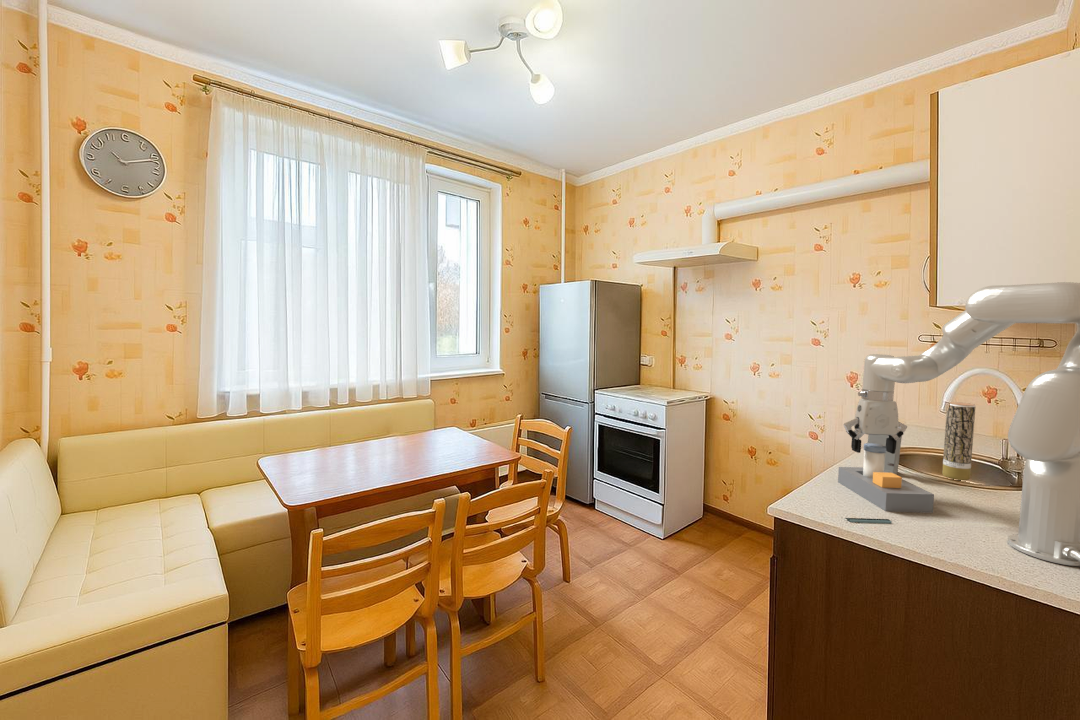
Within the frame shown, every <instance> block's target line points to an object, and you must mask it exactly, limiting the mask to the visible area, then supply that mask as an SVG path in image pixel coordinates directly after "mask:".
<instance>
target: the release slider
mask: <svg viewBox="0 0 1080 720" xmlns="http://www.w3.org/2000/svg"><path fill="white" fill-rule="evenodd" d="M902 479H903V477H902V476H899V475H897V474H894V473H886V472H873V483H875V484H876V485H878V486H880V487H882V488H901V483H902Z"/></svg>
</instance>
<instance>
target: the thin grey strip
mask: <svg viewBox="0 0 1080 720" xmlns="http://www.w3.org/2000/svg"><path fill="white" fill-rule="evenodd" d="M845 519H846V520H847V521H848V522H850V523H856V522H858V523H862V524H863V523H864V524H891V525H892V522H893V521H892V520H890V519H889V518H863V517H861V518H860V517H857V518H856V517H845Z"/></svg>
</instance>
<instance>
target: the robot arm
mask: <svg viewBox="0 0 1080 720" xmlns="http://www.w3.org/2000/svg"><path fill="white" fill-rule="evenodd" d="M964 308H965V310H963V311H962V312H961V313H959V314H958V315H956V316H954V317H953V318H952V319H950V320H949V321H947V322H946V323H945V324H944V325H943V326H942V329H941V330H942V334H943V335H942V337H941V338H940V340H938V341H937V342H936V343H935V344H933V345H932V346H931V347H930V348H928V349H927V350H925V351H924V352H922V353H920V354H919V355H907V356H906V355H904V356H894V355H892V354H891V355H890V354H883V353H881V354H880V353H879V354H878V353H876V354H874V353H873V354H868V355H866V356H865V357H864V361H863V362H864V364H863V373H862V374H863V377H862V389H861V391H858V393H857V396H858V397H861V398H860V399H859V400H858V403H857V406H856V410H855V413H854V414H855V415H854V418H853V419H851V420H849V421H847V422H844V423H843V427H844V429H845V432H846V433H847V434H848V435H849V437H850V438H851V445H850V447H851V450H852V451H854V452H856V453H857V454H859V453H861V451H862V440H861V438H862V437H863V436H864V435H867V436H868V435H887V436H888V437H889V438H887V439H886V451H887V452H890V453H892V454H895V450H896V441H898V440H899V438H900V437H901V436H902V437H903V435H904V433H905V431H906V430H907V428H908V426H907V425H906V424H904V423H902V422H900V421H899V409H898V404H897V403H898V402H897V401H894V397H895V396H894V395H895V383H897V384H898V383H899V384H914V383H923V382H925V383H926V382H929V381H932V380H935V379H937V378H938V377H940V376H941V375H943V374H944V373H947V372H948V371H950V370H952V369H954V367H956V366H958V365H959V364H960V363H961V362H962V361H964V360H965V359H967V357H968V356H969V355H971V353H972V352H973V351H974V349H976V348H978V347H979V346H981V345H983V344H984V343H987V341H989V340H991V339H993V338H994V337H996V336H997V335H998V334H1000V333H1002V332H1004V331H1005V330H1007V329H1008V328H1011V326H1013V325H1015V324H1075V325H1076V332H1075V333H1074V335H1073V337H1071V339H1070V340H1069V342H1068V344H1067V346H1066V349H1065V351H1064V354H1063V356H1062V358H1061V360H1060V362H1059V364H1058V365H1057V368H1055V369H1051V370H1050V369H1049V370H1047V371H1044V372H1041V373H1040V374H1037V376H1035V377H1034V378H1033V379H1032V380H1031V381H1030V382H1029V383H1028V385H1027V387H1026V388H1025V390H1024V392H1023V394H1022V396H1021V399H1020V402H1019V404H1018V406H1017V408H1016V411H1015V413H1014V416H1013V418H1012V420H1011V423H1010V426H1009V428H1008V433H1007V439H1008V442H1009V445H1010V447H1011V449H1012V450H1014V451H1015V452H1016V454H1018V455H1020V457H1022V458H1024V459H1025V463H1024V469H1023V475H1022V476H1023V477H1022V478H1023V479H1022V487H1021V499H1020V512H1019V521H1018V522H1019V523H1018V531H1017V532H1018V533H1014V534H1010V535H1009V536H1007V537H1008V538H1007V544H1009V546H1011V547H1012V548H1014V549H1015V550H1017V551H1019V552H1021V553H1023V554H1026V555H1028V556H1030V557H1034V558H1037V559H1040V560H1043V561H1045V562H1050V563H1054V564H1060V565H1064V566H1070V567H1071V566H1072V567H1080V282H1071V281H1070V282H1066V281H1064V282H1046V283H1045V282H1043V283H1027V284H1009V285H1008V284H1007V285H988V286H984V287H981V288H979V289H977V290H975V291H974V292H973V293H971V294H970V296H968V298H967V299H966V302H965V305H964ZM852 427H853V428H854V430H853V428H852Z"/></svg>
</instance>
